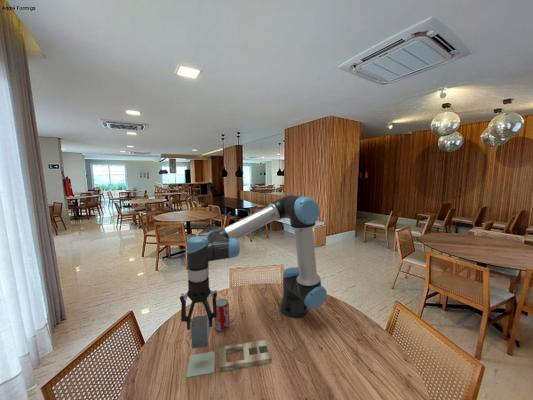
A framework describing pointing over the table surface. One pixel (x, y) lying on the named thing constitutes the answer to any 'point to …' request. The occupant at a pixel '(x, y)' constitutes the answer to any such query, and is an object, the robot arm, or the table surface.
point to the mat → (201, 364)
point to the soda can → (222, 315)
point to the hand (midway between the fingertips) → (200, 335)
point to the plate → (245, 355)
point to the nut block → (199, 332)
